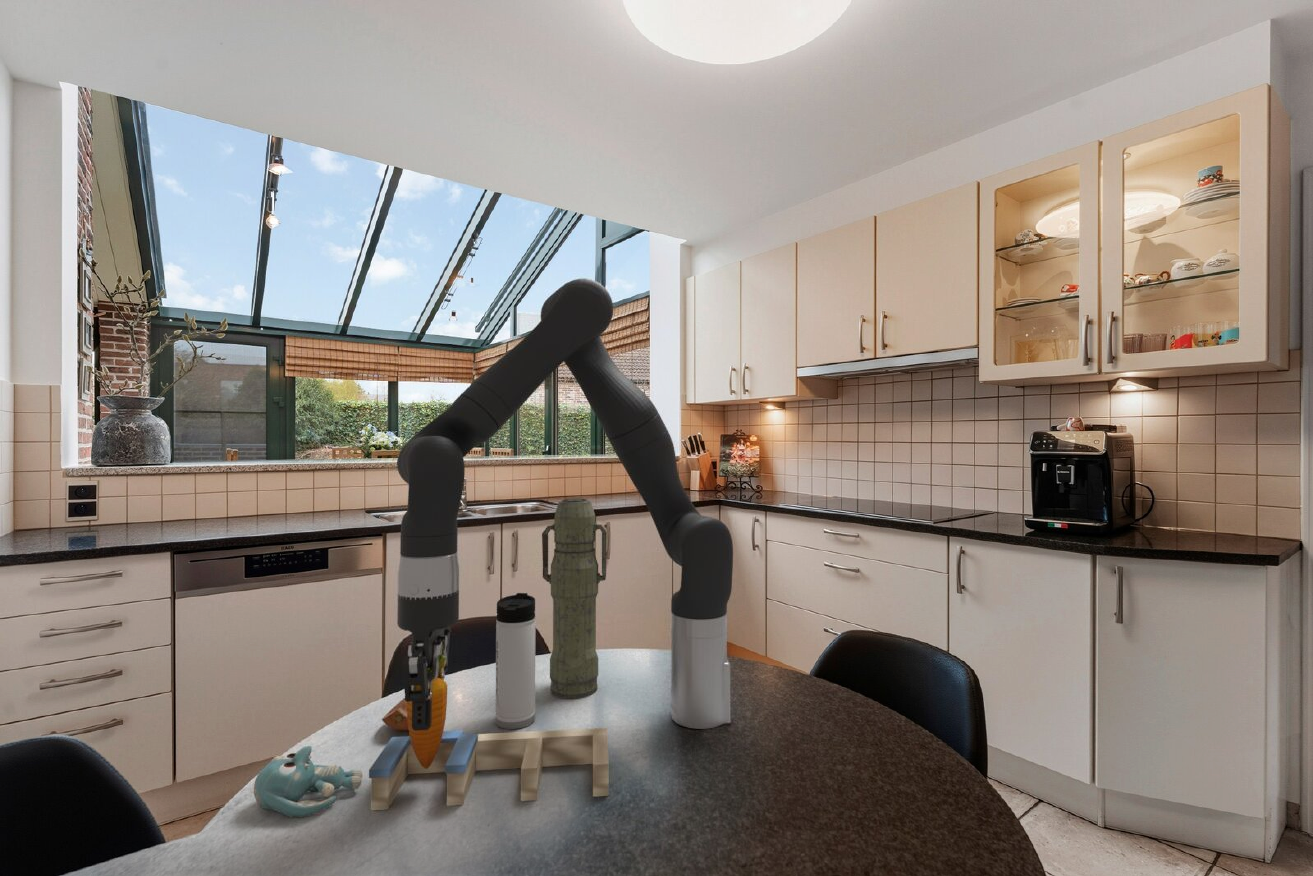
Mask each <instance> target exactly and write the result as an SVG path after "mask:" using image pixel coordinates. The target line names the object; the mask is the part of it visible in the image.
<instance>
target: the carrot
mask: <svg viewBox="0 0 1313 876" xmlns="http://www.w3.org/2000/svg"><path fill="white" fill-rule="evenodd" d="M445 660H446V657H445V656H443V655H441V656H440V657H439V668H438V671H439V669H440V667H441V666H442V664H443V662H444V661H445ZM431 671H432V670H431V668H427V674H428V673H430V672H431ZM417 690H421V686H419V685H417ZM432 693H433V696H432V721H431V726H430V728H429V729H428V730H419V731H415V730H413V729H412V701H409V702H407V720H408V729H409V730H408V736H410V739H411V744H412V748H413V750H414V753H415V755H416V757H417V759H418V761H419V762H420V764H421V766H423V767H424V768H425V769H428V767H429V766H430V765H431V764H432V762H433V760H434V758H435V755H436V753H437V751H438V748H439V746H440V743H441V740H442V735H443V731H445V725H446V718H447V707H448V705H447V704H448V703H447V702H448V684H447V681H445V679H444V680H442V679H440V678H438V677H437V678H436V679H435V680H434V681H433V691H432Z"/></svg>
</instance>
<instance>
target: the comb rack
mask: <svg viewBox="0 0 1313 876" xmlns="http://www.w3.org/2000/svg"><path fill="white" fill-rule="evenodd" d="M608 742H609V741H608V728H607V727H598V728H597V727H596V728H578V729H576V728H575V729H556V730H536V731H516V732H515V731H514V732H499V733H497V732H496V733H495V732H494V733H478V732H470V733H468V732H467V733H464V730H462V729H461V730H443V735H442V740H441V743H440V746H439V748H438V751H437V753H436V755H435V758H434V760H433V762H432V764H431V765H430V766H429V767H428V769H425V768H424V767H423V766H421V764H420V762H419V761H418V759H417V757H416V755H415V753H414V750H413V748H412V744H411V739H410V735H408V736H407V735H405V736H392V737H391V738H390V739H389V741H388V742H387V744H386V745H385V747H384V748H383V750H382V751H381V752H380V753H379V755H378V756H377V758H376V759H375V761H374V762H373V763H372V765H371V766H370V768H369V769H368V779H371V780H370V794H371V795H370V811H380V810H389V808H390V806H392V803H393V802H394V799H395V797H397V794H398V793H399V791H400V790H401V787H402V786H403V783H404V781H405V780H406V779H407V776H408V775H417V774H418V775H419V774H437V773H439V774H440V773H444V775H446V806H447V807H449V806H461V805H462V806H463V805H464V804H465V801H466V799H467V796H468V792H469V790H470V788H471V785H472V782H473V779H474V777H475V775H476V771H488V770H492V771H493V770H507V769H520V802H529V801H530V802H531V801H537V800H538V797H539V790H540V782H541V777H542V770H543V767H560V766H561V767H562V766H565V767H566V766H576V765H577V766H578V765H579V766H581V765H592V797H594V798H595V797H609V796H610V795H609V794H610V793H609V789H610V786H609V785H610V781H609V780H610V777H609V775H610V774H609V773H610V772H609V771H610V770H609V769H610V767H609V766H610V764H609V763H610V762H609V761H610V760H609V745H608V744H609V743H608Z"/></svg>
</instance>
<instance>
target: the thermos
mask: <svg viewBox="0 0 1313 876" xmlns="http://www.w3.org/2000/svg"><path fill="white" fill-rule="evenodd" d="M553 517H554V518H553V519H554V520H553V522H554V523H553V524H551V525H550V524H549V525H547V526H546V527H545V529H544V530H543V532H542V533H541V544H542V550H541V553H542V578H543V579H544V580H545V582H547V583H549V585H550V596H551V598H552V608H553V609H552V651H551V655H550V658H549V679H550V693H551V695H552V696H555V697H557V698H561V699H571V700H572V699H573V700H574V699H582V698H586V697H588V696H589V697H590V696H591V695H593V694H595V693H596V692H597V691H598V676H599V656H598V653H597V649H596V647H597V646H596V642H597V640H596V635H597V634H596V627H597V624H596V622H597V621H596V617H597V610H596V608H597V604H596V602H597V601H596V598H597V597H598V594H599V583H600V582H603V581H606V579H607V578H606V577H607V534H608V533H607V531H606V529H605V528H604V526H603V524H601V523H597V522H596V514H595V510H594V507H593V505H592V501H591V500H588V498H563V499H562V500H561V501H558V503H557V506H556V509H555V513H554V516H553ZM551 530H552V531H553V538H554V539H553V541H554V544H555V545H554V547H555V548H554V549H553V558H552V561H551V563H550V573H549V533H550V532H551ZM598 530H600V532H601V573H600V572H599V563H598V560H597V558H596V548H595V541H596V531H598Z"/></svg>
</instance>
